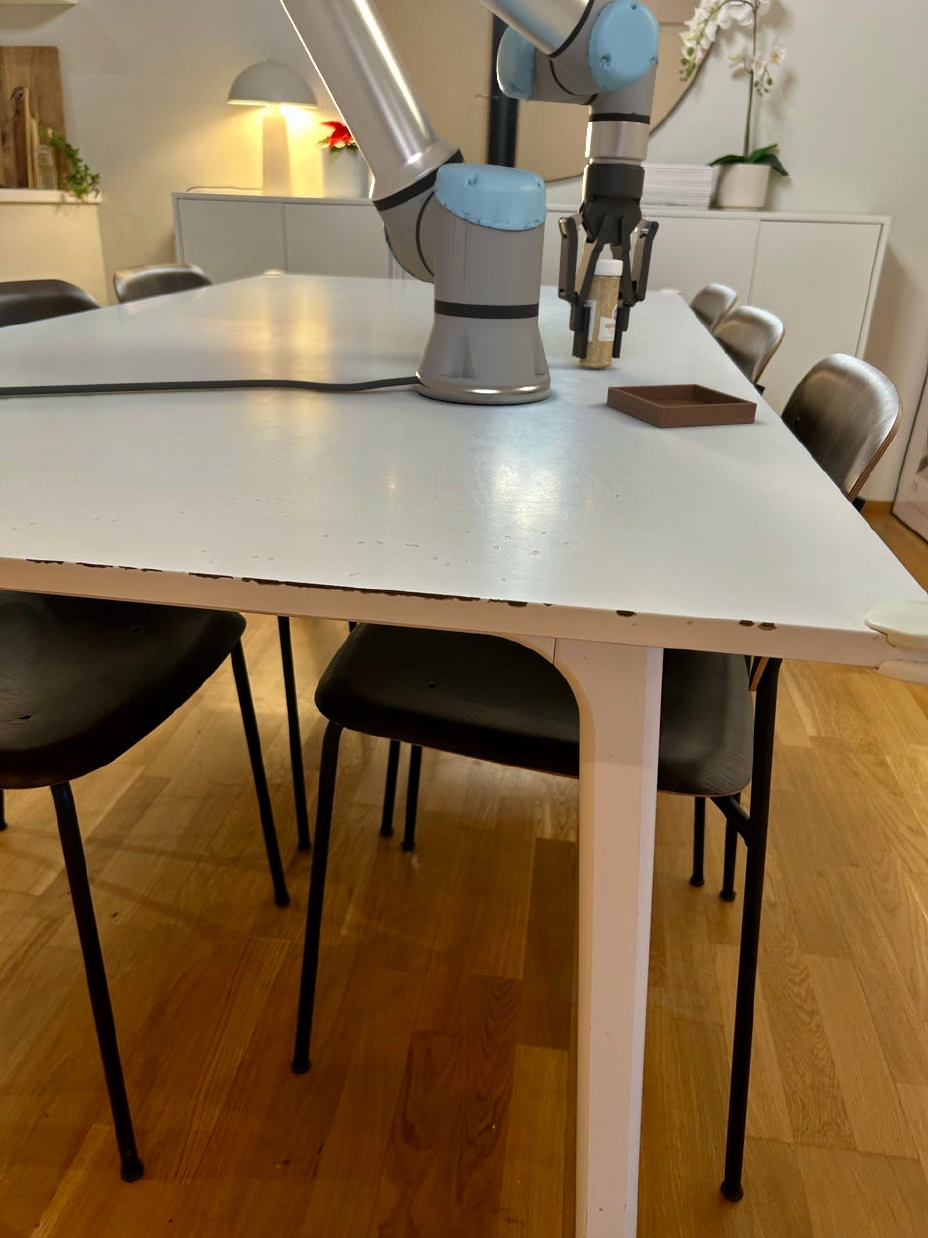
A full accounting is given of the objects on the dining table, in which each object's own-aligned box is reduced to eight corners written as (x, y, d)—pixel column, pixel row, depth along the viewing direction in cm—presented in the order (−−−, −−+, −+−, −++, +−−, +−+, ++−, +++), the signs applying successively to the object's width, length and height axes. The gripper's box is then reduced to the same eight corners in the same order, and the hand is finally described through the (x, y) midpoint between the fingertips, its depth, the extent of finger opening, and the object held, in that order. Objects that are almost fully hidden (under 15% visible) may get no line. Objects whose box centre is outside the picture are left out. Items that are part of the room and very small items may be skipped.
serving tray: (659, 427, 89) (662, 407, 89) (606, 405, 99) (608, 386, 98) (754, 422, 93) (757, 403, 92) (693, 401, 103) (696, 383, 102)
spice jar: (612, 369, 120) (624, 260, 114) (578, 367, 120) (588, 258, 115) (610, 363, 124) (622, 258, 118) (577, 362, 124) (587, 257, 119)
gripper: (660, 168, 118) (638, 352, 128) (538, 159, 112) (525, 353, 122) (691, 166, 112) (666, 360, 121) (565, 157, 106) (548, 361, 116)
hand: (595, 356), depth 122 cm, fingers closed on spice jar, 4 cm apart
